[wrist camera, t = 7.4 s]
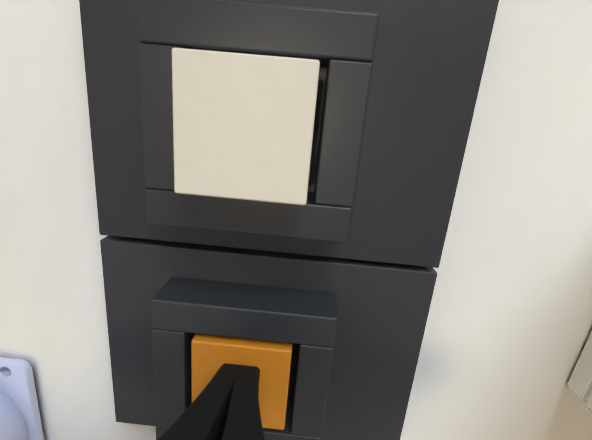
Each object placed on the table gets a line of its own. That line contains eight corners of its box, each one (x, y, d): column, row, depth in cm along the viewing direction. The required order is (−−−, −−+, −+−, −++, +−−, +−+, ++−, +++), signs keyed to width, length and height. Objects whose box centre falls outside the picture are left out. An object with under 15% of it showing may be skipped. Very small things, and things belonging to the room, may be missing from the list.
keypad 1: (129, 401, 17) (91, 459, 14) (117, 230, 14) (67, 258, 11) (391, 429, 16) (407, 495, 14) (427, 260, 14) (457, 297, 11)
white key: (194, 182, 11) (173, 193, 9) (195, 59, 10) (170, 47, 8) (307, 192, 11) (306, 205, 9) (319, 70, 10) (320, 59, 8)
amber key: (204, 386, 15) (190, 420, 13) (205, 313, 14) (190, 340, 12) (287, 395, 15) (284, 431, 13) (294, 322, 14) (292, 351, 12)
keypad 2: (116, 225, 14) (66, 252, 11) (98, -24, 12) (27, -73, 9) (428, 256, 14) (458, 291, 11) (482, 6, 11) (539, -33, 8)
